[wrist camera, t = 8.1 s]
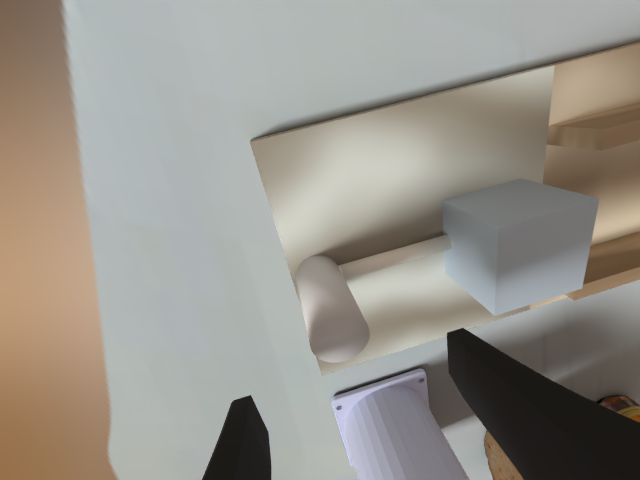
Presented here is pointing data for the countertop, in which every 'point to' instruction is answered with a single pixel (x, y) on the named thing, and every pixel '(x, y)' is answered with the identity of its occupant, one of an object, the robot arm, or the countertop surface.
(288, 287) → the countertop surface
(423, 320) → the shelf lane
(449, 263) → the block
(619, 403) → the sauce bottle
